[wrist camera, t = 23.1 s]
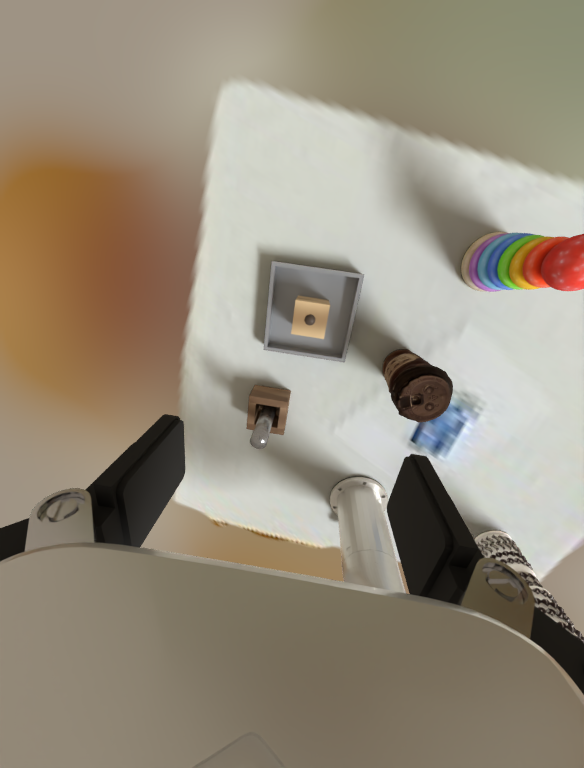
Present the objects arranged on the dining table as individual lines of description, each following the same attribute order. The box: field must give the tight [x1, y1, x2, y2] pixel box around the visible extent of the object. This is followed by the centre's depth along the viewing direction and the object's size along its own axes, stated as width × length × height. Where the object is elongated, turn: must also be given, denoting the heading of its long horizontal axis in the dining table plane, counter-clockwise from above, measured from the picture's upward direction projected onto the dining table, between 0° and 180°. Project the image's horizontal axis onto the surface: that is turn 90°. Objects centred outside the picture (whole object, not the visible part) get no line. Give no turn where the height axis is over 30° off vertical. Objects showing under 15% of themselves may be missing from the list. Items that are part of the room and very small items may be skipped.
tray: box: [264, 261, 364, 362], centre depth 45 cm, size 14×14×3 cm
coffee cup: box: [383, 349, 453, 422], centre depth 43 cm, size 9×8×13 cm
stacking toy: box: [461, 232, 584, 291], centre depth 33 cm, size 8×8×19 cm
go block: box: [247, 385, 291, 435], centre depth 52 cm, size 7×7×5 cm
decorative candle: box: [474, 531, 584, 643], centre depth 53 cm, size 9×9×25 cm
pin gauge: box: [250, 405, 277, 449], centre depth 48 cm, size 3×3×12 cm
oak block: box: [291, 295, 330, 339], centre depth 43 cm, size 5×5×6 cm
